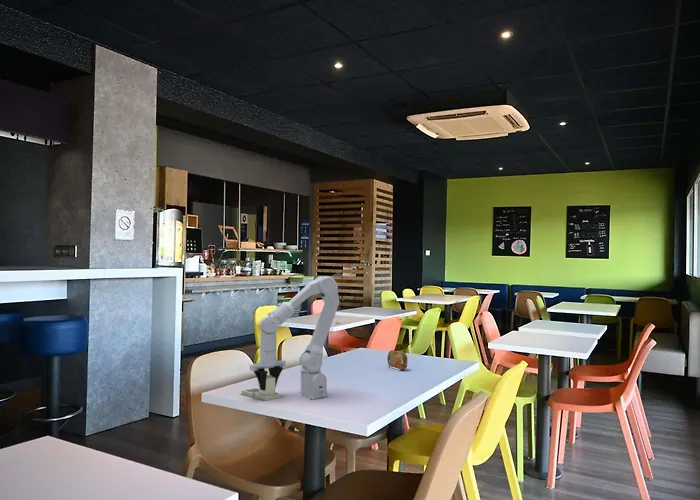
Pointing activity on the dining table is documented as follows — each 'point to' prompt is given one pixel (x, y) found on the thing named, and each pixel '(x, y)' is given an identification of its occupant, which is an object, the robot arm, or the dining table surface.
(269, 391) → the plug
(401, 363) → the tin
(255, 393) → the grey divided tray
